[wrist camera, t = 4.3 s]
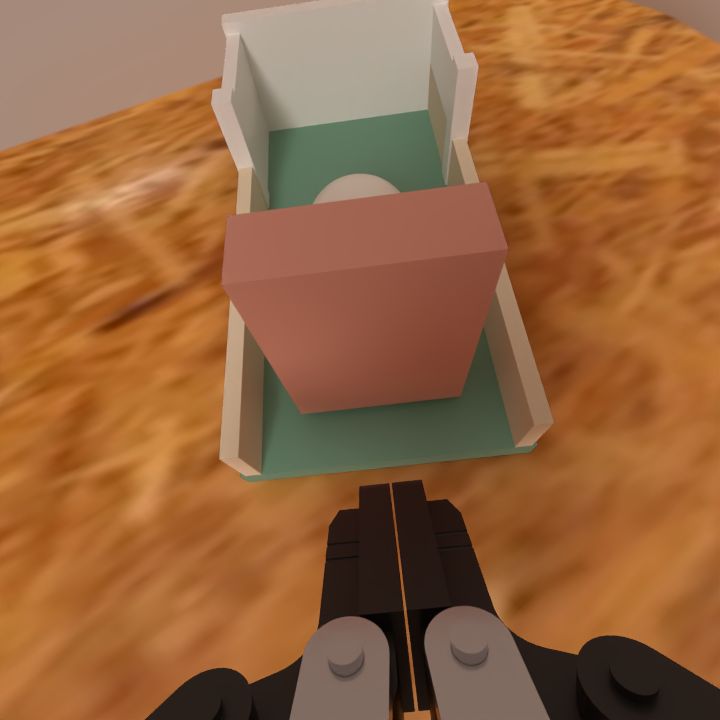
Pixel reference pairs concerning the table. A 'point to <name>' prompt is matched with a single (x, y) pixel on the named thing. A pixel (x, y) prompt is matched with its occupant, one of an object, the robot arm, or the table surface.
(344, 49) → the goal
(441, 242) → the block
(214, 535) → the table surface
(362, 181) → the ball
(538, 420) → the pitch
